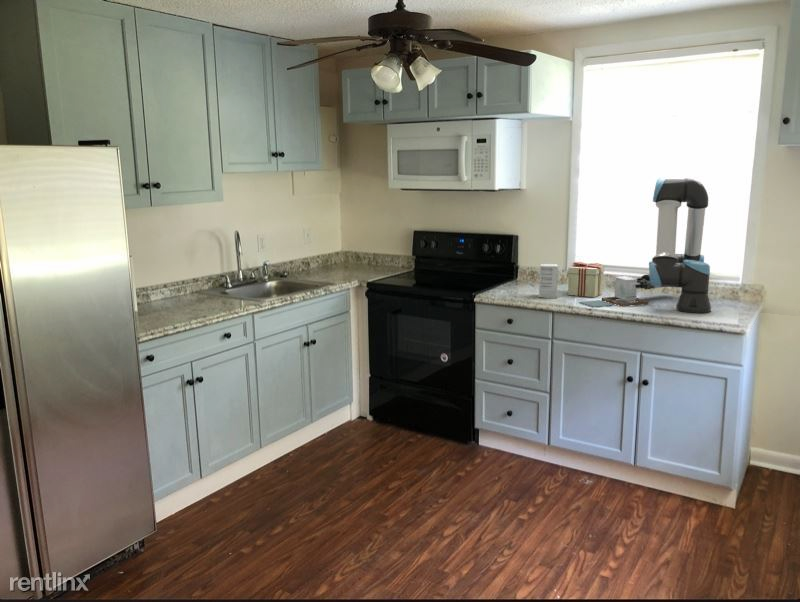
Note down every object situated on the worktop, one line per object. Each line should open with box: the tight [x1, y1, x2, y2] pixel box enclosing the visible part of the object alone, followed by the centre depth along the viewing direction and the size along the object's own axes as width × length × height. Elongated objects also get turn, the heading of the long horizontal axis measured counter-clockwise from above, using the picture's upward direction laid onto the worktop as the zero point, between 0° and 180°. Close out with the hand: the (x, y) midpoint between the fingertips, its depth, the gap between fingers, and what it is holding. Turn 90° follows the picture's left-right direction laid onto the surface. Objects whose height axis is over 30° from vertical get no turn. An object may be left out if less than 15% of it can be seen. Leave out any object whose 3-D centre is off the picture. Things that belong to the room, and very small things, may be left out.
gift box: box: [567, 261, 605, 298], centre depth 358 cm, size 17×18×17 cm
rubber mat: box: [578, 299, 615, 308], centre depth 332 cm, size 12×12×1 cm
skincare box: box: [614, 275, 638, 301], centre depth 335 cm, size 10×6×10 cm, turn 12°
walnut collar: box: [601, 296, 650, 307], centre depth 336 cm, size 16×16×2 cm
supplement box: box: [538, 263, 559, 299], centre depth 352 cm, size 10×9×17 cm
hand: (620, 285), depth 333 cm, fingers closed on skincare box, 11 cm apart
